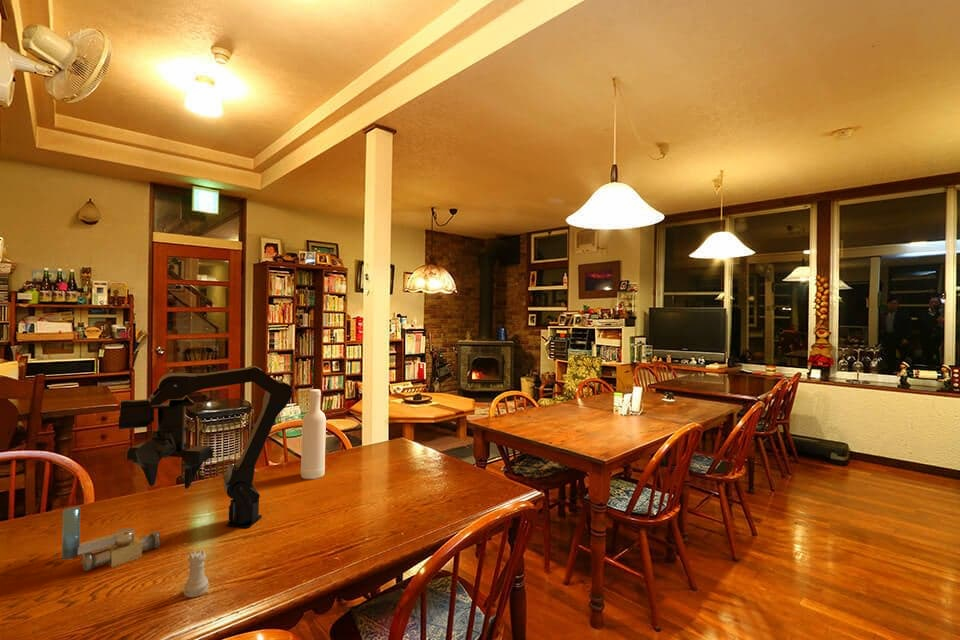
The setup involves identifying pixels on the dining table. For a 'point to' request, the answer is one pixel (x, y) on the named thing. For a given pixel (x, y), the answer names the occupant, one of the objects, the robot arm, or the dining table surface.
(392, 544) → the dining table surface
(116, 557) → the valve body
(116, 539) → the lever
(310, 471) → the bottle
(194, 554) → the rook chess piece
